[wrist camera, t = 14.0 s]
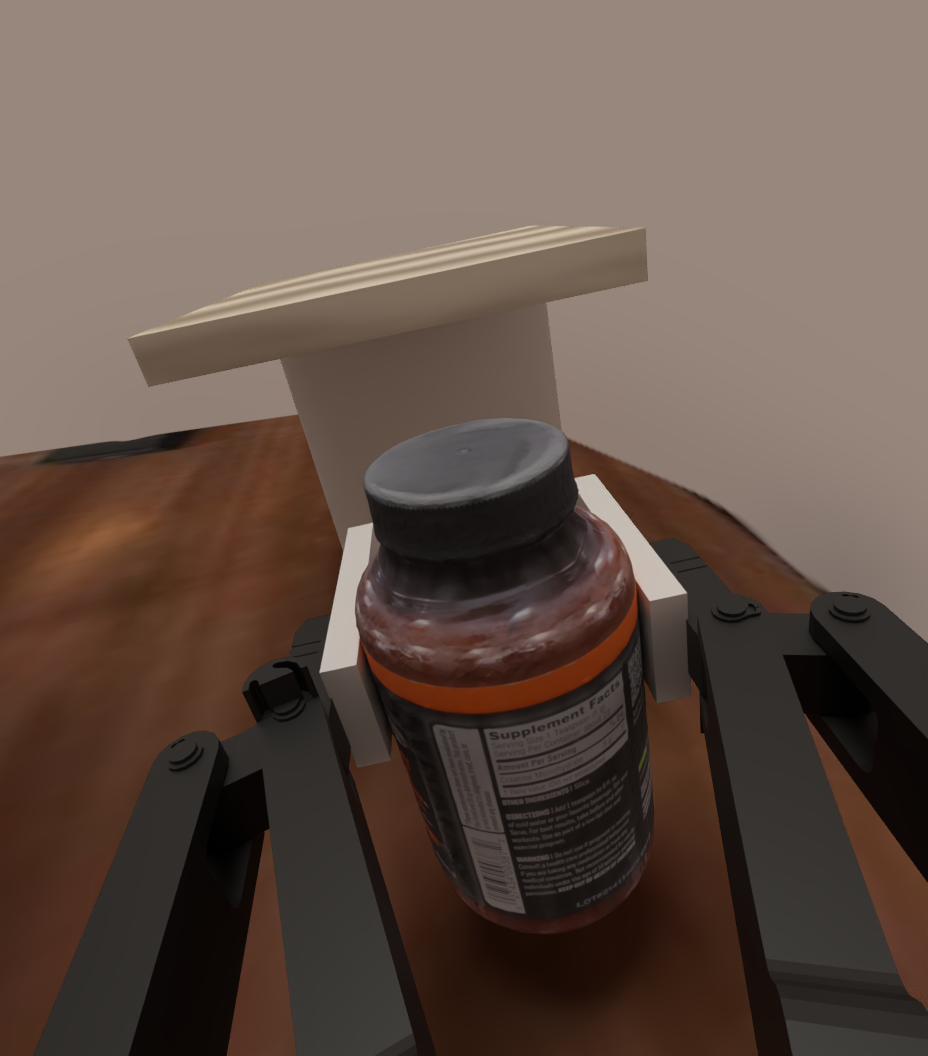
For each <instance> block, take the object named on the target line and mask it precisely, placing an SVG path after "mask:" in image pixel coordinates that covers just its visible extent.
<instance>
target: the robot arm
mask: <svg viewBox="0 0 928 1056" xmlns="http://www.w3.org/2000/svg"><path fill="white" fill-rule="evenodd" d="M574 479H575V481H576V483H577V487H578V489H579V491H578V500H577V502H576V506H579V507H581V508H583V509H586V510H587V511H589V512H591V513H593V514H595V515H596V516H598V517H599V518H600V519H601V520H603V521H605V522H606V523H608V524H609V526H610V527H611V528H612V529H613V530H614V531H615V532H616V533H617V535H618V536H619V537H620V539H621V540H622V542H623V544H624V546H625V548H626V550H627V552H628V555H629V557H630V560H631V564H632V567H633V573H634V577H635V583H636V593H637V605H638V613H639V630H640V643H641V655H642V669H643V677H644V680H645V682H646V683H647V685H648V687H649V689H650V691H651V693H652V695H653V697H654V699H655V700H656V702H657V703H661V702H666V701H670V700H675V699H680V698H684V697H689V696H691V680H690V676H691V678H692V679H693V681H694V683H695V684H696V686H697V687H698V689H699V691H700V725H701V733H704V734H705V740H706V746H707V752H708V758H709V764H710V770H711V776H712V782H713V788H714V794H715V800H716V806H717V812H718V818H719V823H720V829H721V835H722V841H723V847H724V853H725V859H726V865H727V871H728V877H729V883H730V889H731V895H732V901H733V907H734V913H735V919H736V925H737V931H738V937H739V943H740V949H741V955H742V960H743V966H744V972H745V978H746V984H747V990H748V996H749V1002H750V1008H751V1014H752V1020H753V1026H754V1032H755V1038H756V1044H757V1050H758V1056H928V1012H927V1010H926V1009H925V1007H924V1006H923V1004H922V1003H921V1002H920V1001H918V1000H916V999H915V998H913V997H911V996H910V995H909V994H908V993H907V991H906V989H905V988H904V986H903V984H902V981H901V979H900V977H899V974H898V972H897V969H896V966H895V963H894V961H893V958H892V955H891V952H890V950H889V947H888V944H887V941H886V939H885V936H884V933H883V930H882V928H881V925H880V922H879V919H878V916H877V914H876V911H875V908H874V905H873V903H872V900H871V897H870V894H869V892H868V889H867V886H866V883H865V881H864V878H863V875H862V872H861V870H860V867H859V864H858V861H857V859H856V856H855V853H854V850H853V848H852V845H851V842H850V839H849V837H848V834H847V831H846V828H845V826H844V823H843V820H842V817H841V815H840V812H839V809H838V806H837V804H836V801H835V798H834V795H833V793H832V790H831V787H830V784H829V782H828V779H827V776H826V773H825V770H824V768H823V765H822V762H821V759H820V757H819V754H818V751H817V748H816V746H815V743H814V740H813V737H812V735H811V732H810V729H809V726H808V724H807V721H806V718H805V715H804V714H806V716H807V717H808V719H809V720H810V721H811V723H812V724H813V726H814V727H815V728H816V730H817V731H818V732H819V734H820V735H821V737H822V738H823V739H824V741H825V742H826V743H827V745H828V746H829V748H830V749H831V750H832V752H833V753H834V754H835V756H836V757H837V759H838V760H839V761H840V763H841V764H842V765H843V767H844V768H845V770H846V771H847V772H848V774H849V775H850V776H851V778H852V779H853V781H854V782H855V783H856V785H857V786H858V787H859V789H860V790H861V792H862V793H863V794H864V796H865V797H866V799H867V800H868V801H869V803H870V804H871V805H872V807H873V808H874V810H875V811H876V812H877V814H878V815H879V816H880V818H881V819H882V821H883V822H884V823H885V825H886V826H887V827H888V829H889V830H890V832H891V833H892V834H893V836H894V837H895V838H896V840H897V841H898V843H899V844H900V845H901V847H902V848H903V849H904V851H905V852H906V854H907V855H908V856H909V858H910V859H911V860H912V862H913V863H914V865H915V866H916V867H917V869H918V870H919V871H920V873H921V874H922V876H923V877H924V878H925V880H926V881H927V882H928V643H927V642H926V641H924V640H923V639H922V638H921V637H920V636H919V635H918V634H917V633H915V632H914V631H913V630H912V629H911V628H910V627H908V626H907V625H906V624H905V623H904V622H903V621H902V620H901V619H899V618H898V617H897V616H896V615H895V614H894V613H893V612H891V611H890V610H889V609H888V608H887V607H886V606H885V605H883V604H882V603H880V602H878V601H877V600H875V599H874V598H871V597H868V596H865V595H862V594H858V593H850V592H830V593H827V594H824V595H821V596H818V597H817V598H816V599H815V600H813V601H812V603H811V608H810V614H779V613H769V612H767V611H766V610H765V608H764V607H763V606H762V604H760V603H759V602H757V601H755V600H754V599H752V598H749V597H745V596H742V595H734V594H733V593H732V592H731V591H730V590H729V589H728V587H727V586H726V585H725V584H724V583H723V582H722V581H721V580H720V579H719V577H718V576H717V575H716V574H715V573H714V572H713V571H712V570H711V569H710V568H709V567H708V566H707V564H706V563H705V562H704V561H703V560H702V559H700V557H699V555H698V554H697V553H696V552H695V551H694V550H693V549H692V548H691V546H689V545H687V544H685V543H683V542H681V541H679V540H677V539H674V538H671V539H666V540H661V541H657V542H652V543H648V542H647V541H646V539H645V538H644V537H643V536H642V534H641V533H640V532H639V530H638V529H637V528H636V527H635V525H634V524H633V523H632V521H631V520H630V519H629V518H628V516H627V515H626V514H625V512H624V511H623V510H622V509H621V507H620V506H619V505H618V503H617V502H616V501H615V500H614V498H613V497H612V496H611V494H610V493H609V492H608V490H607V489H606V488H605V487H604V485H603V484H602V483H601V481H600V480H599V479H598V478H597V476H596V475H595V474H592V475H588V476H583V477H579V478H574ZM379 547H380V544H379V541H378V540H377V539H376V536H375V534H374V527H373V523H370V524H365V525H361V526H356V527H352V528H348V532H347V537H346V542H345V547H344V552H343V557H342V562H341V567H340V572H339V577H338V582H337V587H336V592H335V597H334V602H333V607H332V612H331V614H329V615H325V616H320V617H316V618H311V619H307V620H306V621H305V622H304V623H303V625H302V626H301V627H300V628H299V629H298V631H297V632H296V633H295V637H294V640H293V644H292V649H291V651H290V655H289V657H284V658H280V659H277V660H273V661H271V662H269V663H267V664H265V665H263V666H261V667H259V668H258V669H257V670H256V671H255V672H253V673H252V674H251V675H250V676H249V678H248V679H247V680H246V682H245V683H244V686H243V691H242V693H243V695H244V697H245V699H246V701H247V703H248V705H249V707H250V709H251V711H252V713H253V715H254V717H255V719H256V721H257V724H256V725H255V726H254V727H252V728H250V729H248V730H246V731H245V732H243V733H240V734H238V735H236V736H234V737H232V738H229V739H227V740H225V741H223V742H220V741H219V739H218V737H217V736H216V735H215V734H214V733H212V732H209V731H198V732H193V733H190V734H187V735H185V736H182V737H180V738H179V739H177V740H176V741H174V742H172V743H171V744H169V745H168V746H167V747H166V748H165V749H164V750H163V751H162V752H161V753H160V754H159V755H158V756H157V758H156V760H155V761H154V763H153V765H152V767H151V769H150V772H149V774H148V776H147V779H146V781H145V784H144V786H143V789H142V791H141V794H140V796H139V798H138V801H137V803H136V806H135V808H134V811H133V813H132V816H131V818H130V820H129V823H128V825H127V828H126V830H125V833H124V835H123V838H122V840H121V842H120V845H119V847H118V850H117V852H116V855H115V857H114V860H113V862H112V864H111V867H110V869H109V872H108V874H107V877H106V879H105V882H104V884H103V886H102V889H101V891H100V894H99V896H98V899H97V901H96V904H95V906H94V908H93V911H92V913H91V916H90V918H89V921H88V923H87V925H86V928H85V930H84V933H83V935H82V938H81V940H80V943H79V945H78V947H77V950H76V952H75V955H74V957H73V960H72V962H71V965H70V967H69V969H68V972H67V974H66V977H65V979H64V982H63V984H62V987H61V989H60V991H59V994H58V996H57V999H56V1001H55V1004H54V1006H53V1009H52V1011H51V1013H50V1016H49V1018H48V1021H47V1023H46V1026H45V1028H44V1031H43V1033H42V1035H41V1038H40V1040H39V1043H38V1045H37V1048H36V1050H35V1053H34V1055H33V1056H226V1055H227V1050H228V1044H229V1038H230V1032H231V1026H232V1021H233V1015H234V1009H235V1003H236V997H237V991H238V986H239V980H240V974H241V968H242V962H243V956H244V951H245V945H246V939H247V933H248V927H249V921H250V916H251V910H252V904H253V898H254V892H255V886H256V881H257V875H258V869H259V863H260V857H261V852H262V846H263V840H264V834H265V832H264V831H266V830H268V829H270V835H271V844H272V852H273V860H274V869H275V877H276V885H277V894H278V902H279V910H280V919H281V927H282V935H283V944H284V952H285V960H286V969H287V977H288V985H289V994H290V1002H291V1010H292V1019H293V1027H294V1035H295V1044H296V1052H297V1056H437V1055H436V1052H435V1049H434V1045H433V1042H432V1039H431V1035H430V1032H429V1029H428V1025H427V1022H426V1019H425V1015H424V1012H423V1009H422V1005H421V1002H420V999H419V995H418V992H417V989H416V985H415V982H414V979H413V975H412V972H411V969H410V965H409V962H408V959H407V955H406V952H405V949H404V945H403V942H402V939H401V935H400V932H399V929H398V925H397V922H396V919H395V915H394V912H393V909H392V905H391V902H390V899H389V895H388V892H387V889H386V885H385V882H384V879H383V875H382V872H381V869H380V865H379V862H378V859H377V855H376V852H375V849H374V845H373V842H372V839H371V835H370V832H369V829H368V825H367V822H366V819H365V815H364V812H363V809H362V805H361V802H360V799H359V795H358V792H357V789H356V785H355V782H354V780H353V777H352V775H351V772H350V770H349V761H350V752H351V753H352V756H353V758H354V761H355V763H356V766H357V768H359V767H363V766H368V765H373V764H377V763H382V762H386V761H391V742H392V729H391V727H390V724H389V721H388V717H387V715H386V712H385V709H384V706H383V703H382V701H381V697H380V694H379V691H378V689H377V686H376V684H375V681H374V679H373V675H372V671H371V668H370V665H369V662H368V659H367V656H366V653H365V650H364V648H363V645H362V642H361V639H360V636H359V631H358V629H357V627H356V616H355V600H356V593H357V587H358V584H359V582H360V580H361V576H362V574H363V572H364V571H365V569H366V567H367V565H368V563H369V562H370V560H371V559H372V558H373V557H374V556H375V554H376V553H377V551H378V550H379Z"/></svg>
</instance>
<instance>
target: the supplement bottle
mask: <svg viewBox="0 0 928 1056" xmlns="http://www.w3.org/2000/svg"><path fill="white" fill-rule="evenodd" d="M364 490H365V494H366V497H367V500H368V504H369V509H370V513H371V517H372V520H373V527H374V534H375V536H376V539H377V540H378V541H379V543H380V547H379V550H378V551H377V553H376V554H375V556H374V557H373V558H372V559H371V560H370V562H369V563H368V565H367V567H366V569H365V571H364V572H363V574H362V576H361V580H360V582H359V584H358V587H357V593H356V600H355V616H356V627H357V629H358V631H359V636H360V639H361V642H362V645H363V648H364V650H365V653H366V656H367V659H368V662H369V665H370V668H371V671H372V675H373V679H374V681H375V684H376V686H377V689H378V691H379V694H380V697H381V701H382V703H383V706H384V709H385V712H386V715H387V717H388V721H389V724H390V727H391V729H392V732H393V735H394V736H395V738H396V741H397V744H398V747H399V750H400V753H401V756H402V758H403V762H404V765H405V767H406V770H407V772H408V775H409V778H410V781H411V784H412V787H413V790H414V793H415V797H416V799H417V802H418V805H419V808H420V811H421V813H422V816H423V819H424V822H425V824H426V828H427V832H428V835H429V837H430V840H431V842H432V845H433V848H434V851H435V854H436V856H437V858H438V860H439V862H440V864H441V866H442V869H443V871H444V873H445V875H446V877H447V879H448V880H449V882H450V884H451V885H452V887H453V889H454V890H455V891H456V893H457V894H458V895H459V896H460V897H461V898H462V899H463V900H464V902H465V903H466V904H467V905H468V907H469V908H470V909H471V910H473V911H474V912H476V913H477V914H479V915H480V916H482V917H483V918H485V919H486V920H488V921H490V922H492V923H495V924H497V925H500V926H503V927H506V928H509V929H512V930H515V931H518V932H522V933H531V934H538V935H550V934H560V933H564V932H569V931H572V930H574V929H580V928H584V927H586V926H588V925H590V924H592V923H594V922H596V921H598V920H600V919H601V918H603V917H605V916H606V915H608V914H609V913H612V912H613V911H614V910H615V909H616V908H618V907H619V906H620V905H621V904H622V903H623V902H624V901H625V900H626V899H627V898H628V897H629V896H630V894H631V893H632V892H633V891H634V890H635V888H636V887H637V885H638V884H639V882H640V879H641V877H642V874H643V872H644V870H645V868H646V866H647V863H648V860H649V857H650V855H651V848H652V843H653V834H654V831H653V823H654V806H653V792H652V779H651V767H650V754H649V741H648V726H647V716H646V701H645V688H644V677H643V669H642V655H641V643H640V630H639V613H638V605H637V593H636V583H635V577H634V573H633V567H632V564H631V560H630V557H629V555H628V552H627V550H626V548H625V546H624V544H623V542H622V540H621V539H620V537H619V536H618V535H617V533H616V532H615V531H614V530H613V529H612V528H611V527H610V526H609V524H608V523H606V522H605V521H603V520H601V519H600V518H599V517H598V516H596V515H595V514H593V513H591V512H589V511H587V510H586V509H583V508H581V507H579V506H576V502H577V500H578V491H579V489H578V487H577V483H576V481H575V479H574V475H573V470H572V463H571V455H570V449H569V443H568V440H567V437H566V435H565V434H564V433H563V432H562V431H560V430H559V429H558V428H557V427H555V426H553V425H550V424H547V423H544V422H539V421H536V420H529V419H512V418H496V419H484V420H476V421H471V422H467V423H462V424H458V425H452V426H449V427H445V428H441V429H438V430H434V431H431V432H428V433H425V434H422V435H419V436H416V437H413V438H411V439H408V440H406V441H404V442H401V443H399V444H397V445H396V446H394V447H393V448H391V449H389V450H387V451H386V452H385V453H383V454H382V455H381V456H380V457H379V458H378V459H376V460H375V461H374V462H373V463H372V464H371V465H370V467H369V468H368V470H367V471H366V473H365V477H364Z"/></svg>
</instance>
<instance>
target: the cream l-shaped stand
mask: <svg viewBox="0 0 928 1056" xmlns="http://www.w3.org/2000/svg"><path fill="white" fill-rule="evenodd" d="M647 280H648V274H647V252H646V230H645V228H630V227H628V228H627V227H577V226H576V227H574V226H528V227H523V228H519V229H514V230H509V231H504V232H500V233H495V234H490V235H486V236H481V237H476V238H472V239H467V240H462V241H458V242H454V243H449V244H444V245H439V246H434V247H430V248H425V249H420V250H416V251H411V252H407V253H402V254H397V255H392V256H388V257H383V258H378V259H374V260H369V261H365V262H360V263H355V264H350V265H346V266H341V267H337V268H332V269H328V270H322V271H318V272H313V273H309V274H304V275H299V276H295V277H290V278H285V279H281V280H276V281H271V282H267V283H262V284H260V285H257V286H255V287H252V288H250V289H248V290H245V291H243V292H240V293H238V294H235V295H233V296H230V297H228V298H225V299H223V300H221V301H218V302H216V303H213V304H211V305H208V306H206V307H203V308H201V309H199V310H196V311H194V312H191V313H189V314H186V315H184V316H181V317H179V318H177V319H174V320H172V321H169V322H167V323H165V324H162V325H160V326H157V327H154V328H152V329H150V330H147V331H145V332H142V333H140V334H137V335H135V336H132V337H130V338H128V341H129V343H130V346H131V348H132V350H133V352H134V355H135V357H136V359H137V362H138V363H139V366H140V368H141V371H142V373H143V375H144V377H145V380H146V382H147V384H148V387H150V386H154V385H159V384H164V383H169V382H173V381H178V380H183V379H187V378H192V377H197V376H201V375H206V374H211V373H215V372H220V371H225V370H230V369H234V368H239V367H244V366H248V365H253V364H257V363H263V362H268V361H272V360H277V359H280V360H281V363H282V366H283V369H284V372H285V375H286V378H287V381H288V384H289V387H290V390H291V393H292V397H293V400H294V403H295V406H296V409H297V412H298V415H299V418H300V421H301V424H302V427H303V430H304V433H305V436H306V439H307V442H308V445H309V448H310V451H311V454H312V457H313V461H314V464H315V467H316V470H317V473H318V476H319V479H320V482H321V485H322V488H323V491H324V494H325V497H326V500H327V503H328V506H329V509H330V512H331V515H332V518H333V521H334V525H335V528H336V531H337V534H338V537H339V540H340V543H341V546H342V549H343V552H344V547H345V542H346V537H347V532H348V528H352V527H356V526H361V525H365V524H370V523H373V520H372V517H371V513H370V509H369V504H368V500H367V497H366V494H365V490H364V477H365V473H366V471H367V470H368V468H369V467H370V465H371V464H372V463H373V462H374V461H375V460H376V459H378V458H379V457H380V456H381V455H382V454H383V453H385V452H386V451H387V450H389V449H391V448H393V447H394V446H396V445H397V444H399V443H401V442H404V441H406V440H408V439H411V438H413V437H416V436H419V435H422V434H425V433H428V432H431V431H434V430H438V429H441V428H445V427H449V426H452V425H458V424H462V423H467V422H471V421H476V420H484V419H496V418H512V419H529V420H536V421H539V422H544V423H547V424H550V425H553V426H555V427H557V428H558V429H559V430H560V431H561V422H560V414H559V405H558V398H557V390H556V380H555V372H554V364H553V355H552V347H551V338H550V330H549V322H548V314H547V304H546V302H550V301H554V300H559V299H564V298H568V297H574V296H578V295H583V294H588V293H592V292H597V291H601V290H606V289H611V288H616V287H620V286H625V285H629V284H635V283H639V282H644V281H647ZM379 544H380V543H379Z"/></svg>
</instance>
